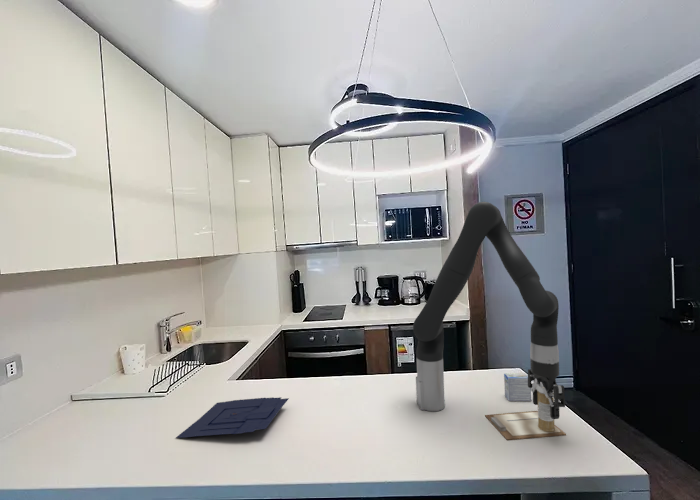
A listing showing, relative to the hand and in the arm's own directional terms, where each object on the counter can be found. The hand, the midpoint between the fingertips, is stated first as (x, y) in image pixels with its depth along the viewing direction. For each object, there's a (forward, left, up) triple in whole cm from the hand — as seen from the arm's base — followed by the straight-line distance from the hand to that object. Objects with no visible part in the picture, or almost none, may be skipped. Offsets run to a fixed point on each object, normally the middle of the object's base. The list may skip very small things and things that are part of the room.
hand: (545, 411), depth 104 cm
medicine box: (+3, +21, -6) cm, 22 cm away
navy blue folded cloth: (-97, +20, -7) cm, 99 cm away
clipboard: (-5, +4, -6) cm, 9 cm away
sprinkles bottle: (0, 0, -6) cm, 6 cm away
